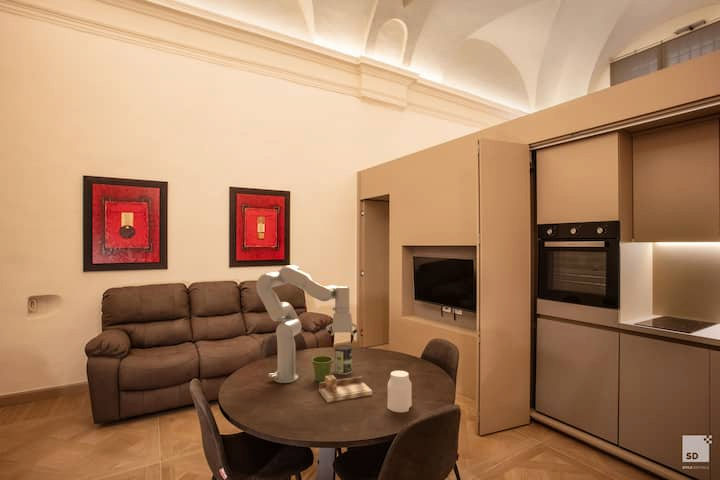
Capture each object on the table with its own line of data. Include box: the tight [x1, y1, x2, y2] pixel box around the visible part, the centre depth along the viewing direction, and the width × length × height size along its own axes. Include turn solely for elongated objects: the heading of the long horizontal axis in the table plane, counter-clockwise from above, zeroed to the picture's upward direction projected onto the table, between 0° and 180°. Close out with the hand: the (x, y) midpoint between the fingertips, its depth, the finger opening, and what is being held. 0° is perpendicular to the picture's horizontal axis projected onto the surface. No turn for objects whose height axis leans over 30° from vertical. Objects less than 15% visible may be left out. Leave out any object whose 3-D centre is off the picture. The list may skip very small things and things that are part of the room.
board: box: [318, 375, 373, 403], centre depth 183 cm, size 23×14×4 cm, turn 112°
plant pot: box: [311, 355, 334, 382], centre depth 201 cm, size 12×12×11 cm
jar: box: [387, 370, 413, 413], centre depth 167 cm, size 12×10×15 cm
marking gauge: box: [325, 374, 338, 394], centre depth 180 cm, size 4×11×6 cm, turn 22°
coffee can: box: [334, 344, 353, 375], centre depth 214 cm, size 10×10×14 cm
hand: (342, 342), depth 194 cm, fingers open, 9 cm apart
